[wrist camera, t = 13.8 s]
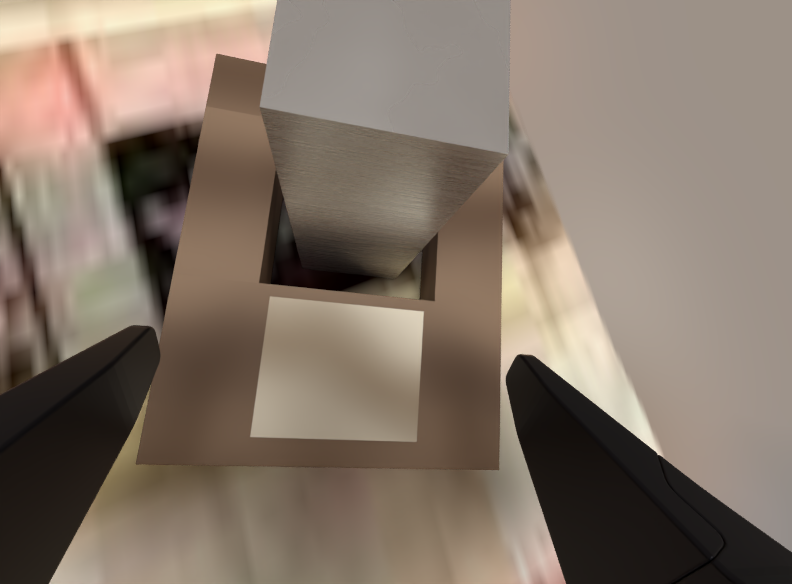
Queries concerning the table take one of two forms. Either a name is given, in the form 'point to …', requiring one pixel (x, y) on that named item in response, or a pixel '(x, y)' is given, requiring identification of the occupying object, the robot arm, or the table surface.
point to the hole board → (317, 329)
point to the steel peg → (383, 122)
